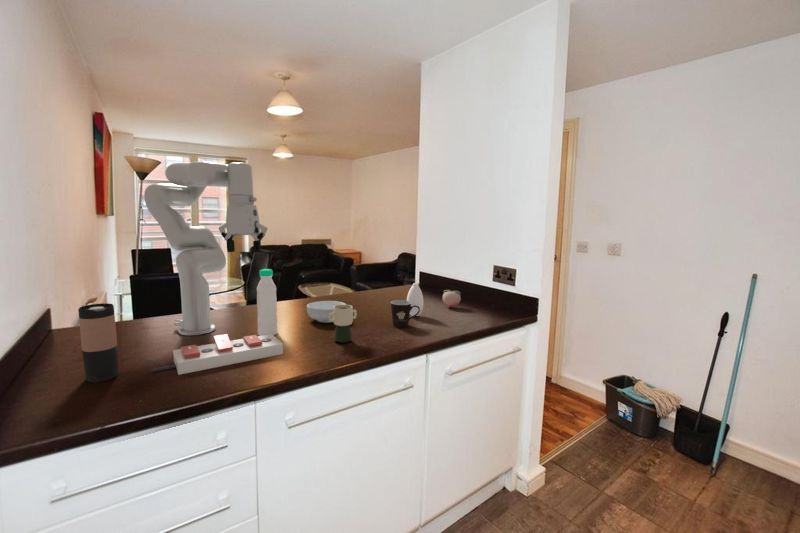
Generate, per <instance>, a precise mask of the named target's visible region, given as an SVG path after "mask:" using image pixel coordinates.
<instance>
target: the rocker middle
mask: <svg viewBox="0 0 800 533" xmlns="http://www.w3.org/2000/svg"><path fill="white" fill-rule="evenodd" d="M213 341H214V343H215V344H216V347H217V349H218V352H223V351H228V350H233V346H232V344H231V342H230V341H231V340H230V337H229V335H228V333H223V334H217V335H213Z"/></svg>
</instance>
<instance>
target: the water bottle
mask: <svg viewBox="0 0 800 533" xmlns="http://www.w3.org/2000/svg"><path fill="white" fill-rule="evenodd" d="M273 271H274V270H273V269H272V268H263V269H260V270H259V272H258V273H259V277H260V280H259V282H258V285H257V286H256V292H257V293H256V309H257V310H256V311H257V336H262V335H268V334H272V335H273V336H275V335H277V333H278V325H277V324H278V316H277V312H278V310H277V309H278V307H277V306H278V305H277V304H278V303H277V300H278V299H277V286H276V284H275V283H274V280H273V278H272V277H273V275H274V272H273Z"/></svg>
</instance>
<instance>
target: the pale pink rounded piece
mask: <svg viewBox="0 0 800 533" xmlns="http://www.w3.org/2000/svg"><path fill="white" fill-rule="evenodd" d="M442 293H443V294H442V302H443V304H444V305H445V306H447V307H449V308H451V309H452V308H454V307H456V306H458V305H459V304H460V302H461V295H462V293H461V292H460V291H459V290H452V289H451V290H450V289H444V290H443V291H442Z"/></svg>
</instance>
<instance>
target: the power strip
mask: <svg viewBox="0 0 800 533" xmlns="http://www.w3.org/2000/svg"><path fill="white" fill-rule="evenodd" d="M256 336H257V337H258V338H259V339H260V340H261V341H262V345H256V346H251V347H249V346H248V344H247V343H246V342H245V341H244V340H243V338H239V339H233V340H230V342H231V344H232V346H233V350H228V351H223V352H218V349H217V347H216V344H215V342H214V343H209V344H201V345H196V346H197V347H198V349H199V351H200V356H195V357H189V358H184V355H183V353H182V350H181V348H178V349H173V351H172V352H173V353H172V354H173V355H172V356H173V363H174V364H170V365H165V366H160V367H159V366H158V367H154V368H152V369H151V372H153V373H155V372H161V371H166V370H171V369H176V371H177V374H178V376H179V375H183V374H184V375H185V374H189V373H193V372H194V373H195V372H200V371H204V370H209V369H215V368H220V367H224V366H230V365H233V364H234V365H235V364H240V363H244V362H249V361H254V360H259V359H264V358H270V357H274V356H278V355H280V356H281V355H284V344H283V342H282V341H280V339H279V338H277V337H275V335H272V334H268V335H262V336H260V335H256Z"/></svg>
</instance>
